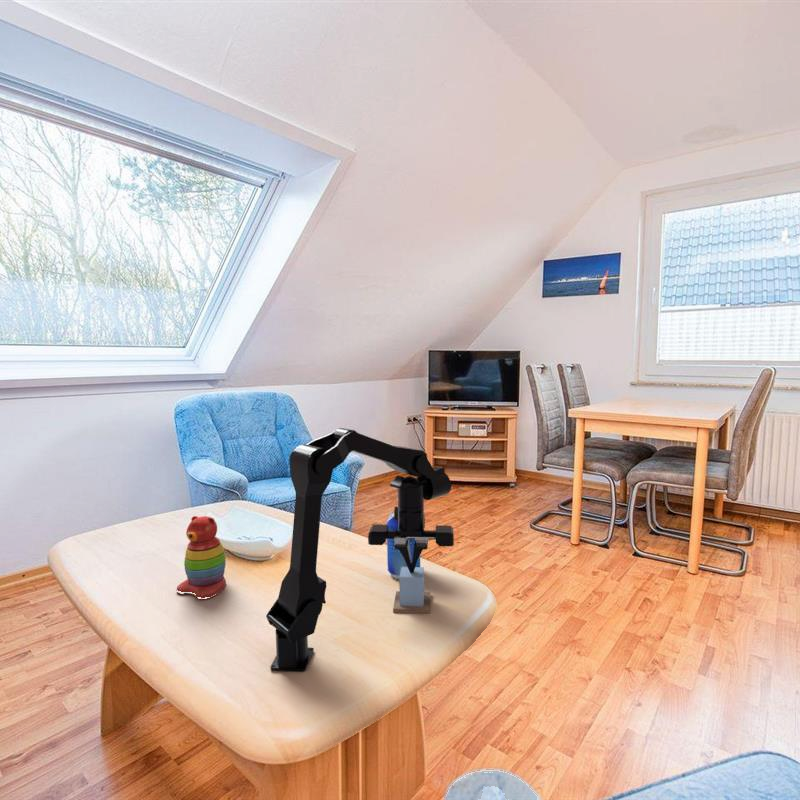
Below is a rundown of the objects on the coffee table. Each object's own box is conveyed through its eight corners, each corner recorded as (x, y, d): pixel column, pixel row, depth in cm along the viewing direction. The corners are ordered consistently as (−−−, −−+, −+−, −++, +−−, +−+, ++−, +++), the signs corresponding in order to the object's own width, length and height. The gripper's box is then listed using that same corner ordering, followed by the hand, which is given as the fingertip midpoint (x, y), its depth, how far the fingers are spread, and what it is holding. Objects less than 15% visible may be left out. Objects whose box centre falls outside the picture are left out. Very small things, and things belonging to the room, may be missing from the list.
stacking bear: (172, 593, 119) (167, 521, 117) (205, 575, 128) (201, 508, 127) (205, 602, 115) (201, 527, 113) (237, 583, 124) (233, 513, 122)
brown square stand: (429, 613, 108) (429, 587, 107) (393, 612, 109) (392, 586, 108) (430, 595, 116) (430, 571, 115) (396, 594, 117) (395, 570, 116)
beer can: (423, 568, 130) (423, 509, 129) (416, 583, 122) (415, 519, 121) (392, 565, 133) (391, 507, 131) (383, 579, 125) (382, 517, 123)
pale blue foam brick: (423, 606, 109) (422, 577, 109) (399, 605, 110) (399, 577, 109) (424, 594, 115) (423, 567, 114) (401, 594, 115) (401, 566, 114)
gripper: (452, 494, 117) (452, 558, 119) (374, 493, 119) (375, 556, 120) (453, 509, 106) (453, 579, 108) (367, 508, 108) (368, 577, 109)
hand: (411, 572), depth 112 cm, fingers closed
